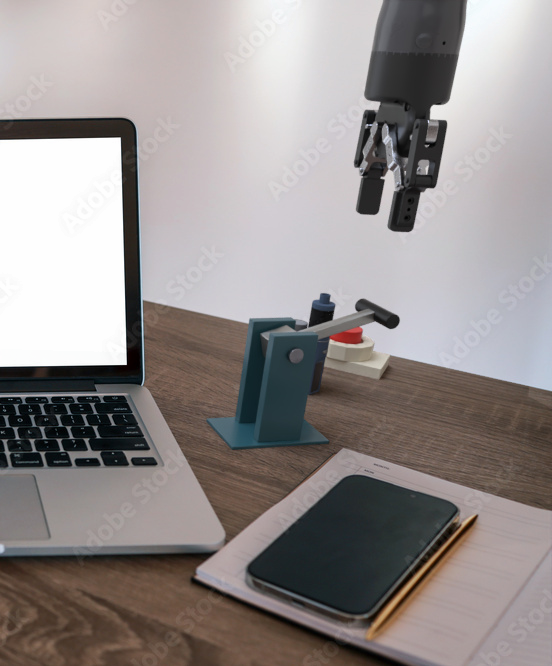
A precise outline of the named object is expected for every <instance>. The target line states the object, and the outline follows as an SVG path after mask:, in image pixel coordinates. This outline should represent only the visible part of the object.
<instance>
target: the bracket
mask: <svg viewBox="0 0 552 666" xmlns="http://www.w3.org/2000/svg"><path fill="white" fill-rule="evenodd" d="M294 319H295V318H293V317H292V316H291V317H288V316H287V317H253V318H251V317H250V318H249V319H248V326H247V333H246V339H245V345H244V346H245V347H244V354H243V361H242V366H241V374H240V381H239V388H238V395H237V401H236V402H237V403H236V408H235V415H234V416H227V417H210V418H209V417H208V418H206V419H205V421H206V423H207V424H208V425H209V426H210V427H211V428H212V430H213V431H214V432H215V433H216V434H217V435H218V436H219V438H221V439H222V441H223V442H224V443H225V444H226V445H227V446H228V447H229V448H230V450H231V451H239V450H254V449H269V448H285V447H299V446H315V445H328V444H330V440H329V439H328V438H327V437H326V436H324V434H322V433H321V432H320V431H319V430H318V429H316V428H315V427H314V426H313V425H311V424H310V423H309V422H308V421H307V420H306V419H305V414H306V408H307V403H308V397H309V395H308V392H309V386H310V381H311V375H312V369H313V364H314V358H315V353H316V347H317V341H318V334H316V333H315V332H279V333H270V334H269V340H268V347H267V353H266V358H265V357H264V356H263V352H262V345H261V338H260V333H264V332H267V331H270V330H273V329H276V328H279V327H282V326H285V325H287V326H289V327H290V328H292V329H293V330H295V325H296V320H294Z"/></svg>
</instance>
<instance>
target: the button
mask: <svg viewBox="0 0 552 666" xmlns="http://www.w3.org/2000/svg"><path fill="white" fill-rule="evenodd" d="M363 333H364V329H363V328H362V326H359V327H356V328H353V329H350V330H347V331H344V332H341V333H338V334H335V335H332V336H330V339H331V340H334V341H336V342H340V343H345V344H360V343H361V338H362V334H363Z"/></svg>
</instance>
